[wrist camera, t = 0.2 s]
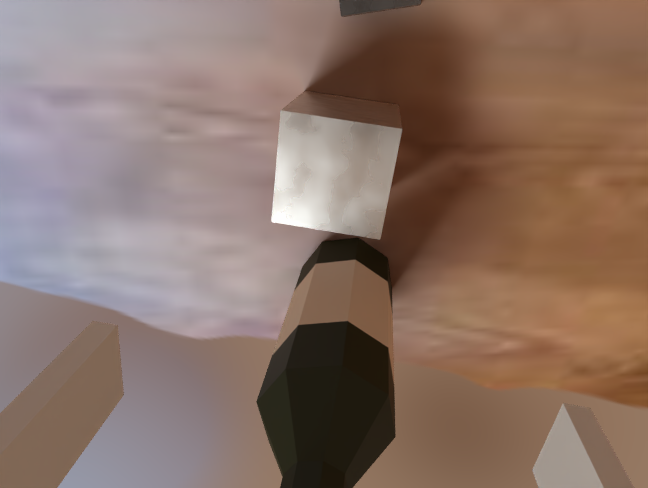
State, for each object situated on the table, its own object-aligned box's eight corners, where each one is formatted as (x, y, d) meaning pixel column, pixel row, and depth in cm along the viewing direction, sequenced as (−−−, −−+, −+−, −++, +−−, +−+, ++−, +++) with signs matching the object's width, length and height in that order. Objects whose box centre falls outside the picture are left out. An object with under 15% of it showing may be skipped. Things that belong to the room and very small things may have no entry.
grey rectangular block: (304, 90, 35) (280, 110, 27) (398, 104, 35) (402, 128, 27) (295, 180, 38) (271, 221, 30) (381, 194, 38) (380, 239, 30)
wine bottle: (405, 249, 40) (445, 716, 13) (379, 325, 44) (370, 812, 17) (311, 226, 40) (159, 640, 13) (294, 304, 44) (147, 752, 17)
